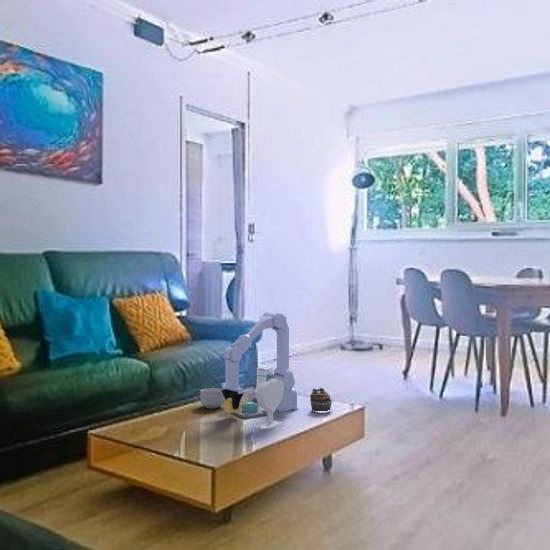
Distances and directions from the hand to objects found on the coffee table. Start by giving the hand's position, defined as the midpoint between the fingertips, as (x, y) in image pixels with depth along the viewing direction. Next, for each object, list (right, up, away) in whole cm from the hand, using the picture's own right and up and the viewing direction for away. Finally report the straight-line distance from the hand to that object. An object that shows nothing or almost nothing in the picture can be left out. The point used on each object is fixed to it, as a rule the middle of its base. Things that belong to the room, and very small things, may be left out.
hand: (232, 407), depth 259 cm
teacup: (-9, -4, +18) cm, 21 cm away
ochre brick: (0, -1, 0) cm, 1 cm away
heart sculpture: (+16, -5, -9) cm, 19 cm away
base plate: (+7, -4, +7) cm, 11 cm away
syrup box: (+13, -3, +39) cm, 42 cm away
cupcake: (+38, -5, +13) cm, 41 cm away
